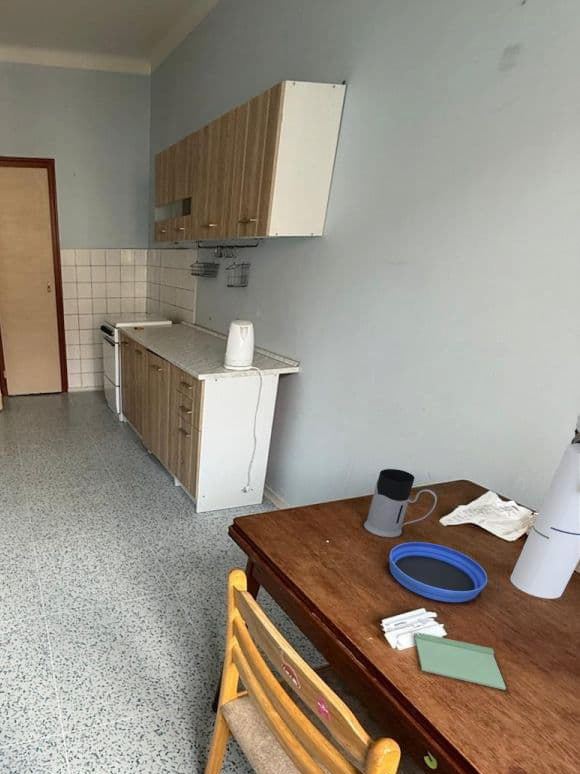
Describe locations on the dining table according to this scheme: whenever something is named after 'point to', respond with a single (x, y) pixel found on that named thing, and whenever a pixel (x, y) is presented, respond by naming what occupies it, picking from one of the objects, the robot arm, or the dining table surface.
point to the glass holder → (391, 503)
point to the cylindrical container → (553, 534)
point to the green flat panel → (458, 660)
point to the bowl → (437, 572)
